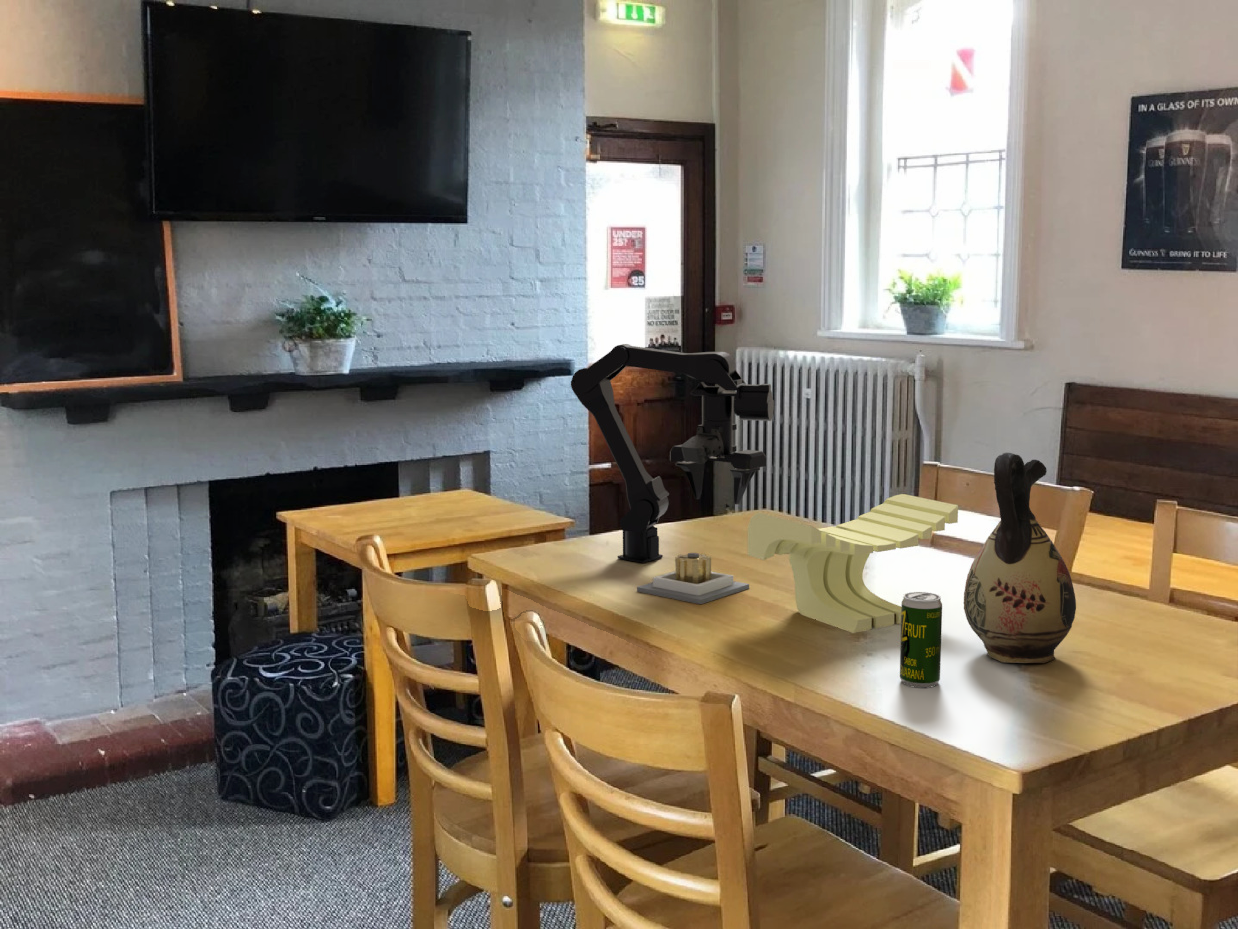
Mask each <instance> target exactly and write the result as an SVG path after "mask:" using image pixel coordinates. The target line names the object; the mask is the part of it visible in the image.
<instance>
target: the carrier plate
mask: <svg viewBox="0 0 1238 929" xmlns="http://www.w3.org/2000/svg"><path fill="white" fill-rule="evenodd" d="M749 589H750V584H749V583H745V582H740V581H734V575H733V574H727V573H722V572H721V573H720V572H715V571H711V580H710V581H707V582H703V583H700V584H693V583H688V582H683V581H677V580H675V571H671V572H668V573H667V572H666V573H665V574H661V575H657V576H654V577H653V578H652V582H649V583H646V584H645V583H644V584H641V585H639V586H636V592H637V593H638V592H639V593H642V594H649V595H653V596H658V597H663V598H668V599H673V600H676V601H682V602H687V603H693V604H697V605H703V604H706V603H709V602H712V601H715V600H719V599H721V598H724V597H728V596H730V595H731V596H732V595H734V594H737V593H740V592H743V591H746V590H749Z"/></svg>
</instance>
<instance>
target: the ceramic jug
mask: <svg viewBox="0 0 1238 929" xmlns="http://www.w3.org/2000/svg"><path fill="white" fill-rule="evenodd" d="M993 467H994V468H993V479H994V480H993V483H994V490H995V496H996V501H997V506H998V509H999V517H1000V520H999V521H998V523H997V525H996V527H994V529H993V530H992V531H991V532H990V535H988V537H987V538H986V540H985V542H984V543H983V545H982V546H981V547H980V549H979V551H978V552H977V553H976V556H975V558H974V560H973V561H972V563H971V565H970V568H969V571H968V573H967V576H966V580H965V586H964V592H963V610H964V614H965V617H966V618H965V619H966V620H967V623H968V624H969V626H970V628H971V629H972V631H973V632H974V633H975V634H976V635H977V637H978V638H979V639H980V640H981V641H982V643H983V646H984V649H985V651H986V652H987V653H986V654H987V655H988V657H990V658H992V659H994V660H996V661H999V662H1001V663H1005V664H1006V663H1009V664H1011V663H1018V664H1045V663H1048V662H1050V661H1053V660H1055V659H1056V657H1055V655H1054V654H1055V650H1056V648H1058V646H1060V644H1061V643H1062V642H1063V641H1064V639H1065V638H1066V637H1067V636H1068V634H1069V632H1070V631H1071V629H1072V626H1073V622H1074V620H1075V617H1076V609H1077V600H1076V593H1075V588H1074V585H1073V581H1072V576H1071V574H1070V571H1069V569H1068V567H1067V564H1066V562H1065V561H1064V559H1063V557H1062V555H1061V553H1060V552H1059V550H1058V549H1057V548H1056V546H1055V544H1054V543H1053V540H1051V538H1050V537H1049V535H1048V534H1047V532H1046V531H1045V530H1044V528H1043V527H1042V526H1041V524H1040V523H1039V522H1038V521H1037V518H1036V515H1035V514H1034V513H1033V512H1032V510H1031V508H1030V502H1031V501H1030V499H1031V490H1032V487H1033V485H1035V484H1036V483H1037V482H1038V481H1039V480H1040V479H1042V478H1043V477H1046V475H1047V466H1046V465H1045V464H1044V463H1043V462H1042V461H1040V460H1038V459H1031V460H1029V461H1027V462H1024V460H1023V458H1022V456H1021V455H1019V454H1015V453H1012V452H1003V453H1002V454H999V455H998V456H997V457H996V458H995V461H994V466H993Z"/></svg>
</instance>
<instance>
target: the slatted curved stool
mask: <svg viewBox="0 0 1238 929" xmlns="http://www.w3.org/2000/svg"><path fill="white" fill-rule="evenodd" d="M958 522H959V505H958V504H955V503H949V502H943V501H939V500H936V499H934V500H933V499H929V498H925V497H921V496H915V495H909V494H904V493H900V494H896V495H893V496H890V497H888V498H886V499H885V500H884V501H883V503H882V504H879V505H876V506H874V507H871V509H870V510H869V511H868V512H866V513H863V514H861V515H859V516H857V518H855V519H853V520H850V521H847V522H844V523H843V522H842V523H839V524H837V525H836V526H828V527H823V528H816V526H813V525H812V524H811V525H810V524H806V523H803V522H799V521H795V520H792V519H788V518H783V517H779V516H776V515H772V514H768V513H765V512H756V513H754V514H753V515H751V517H750V519H749V522H748V526H747V556H749V557H752V558H755V559H759V560H762V561H765V560H768V559H769V558H772V557H774V556H775V555H778V556H783V555H789V556H788V557H789V558H788V559H789V564H790V566H791V570H792V574H793V581H794V595H795V597H794V599H795V604H796V610H797V611H798V613H799V614H800V615H801V616H804V617H806V618H809V619H813V620H815V619H816V621H818V622H821V623H824V624H827V625H829V626H832V627H834V628H837V627H838V629H841V630H843V631H846V632H849V633H852V634H856V633H860V632H865V631H869V630H872V628H873V629H881V628H885V627H890V626H891V627H892V626H894V625H895V624H896V625H901V607H902V605H901V606H900V605H898V604H896V603H893V602H891V601H888V600H886V599H884V598H881V597H880V596H878V595H876V594H875V593H873V592H872V591H871V590H870V589H869V588H868V587H867V586H866V585H865V583H864V579H863V574H864V569H865V566H866V563H867V561H868V558H870V557H869V556H870V555H871V554H873V553H874V552H876V553H881V552H887V551H894V550H896V549H905V548H912V547H918V546H919V539H920V540H928V539H932V533H933V532H941V531H945V530H946V528H945V527H946V524H950V525H951V524H958ZM932 531H933V532H932Z"/></svg>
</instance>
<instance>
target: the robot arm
mask: <svg viewBox="0 0 1238 929" xmlns="http://www.w3.org/2000/svg"><path fill="white" fill-rule="evenodd" d="M626 367H633V368H639V369H647V370H652V371H654V370H655V371H661V372H668V373H675V374H676V373H677V374H682V375H685V376H687V377H690V378H691V379H694V380H697V381H700V382H699V383H698V385H697V386H696V387H695V389H693V390H692V391H691V392H690V395H692V396H701V424H697V428H696V435H694V436H692V437H690V438H689V439H688V440H686V441H685V442H684V443H683V444H678V445H673V446H672V448H671V449H670V451H669V461H670V462H675V466H677V467H679V468H681V469H682V470H683V471H684V472H685V473H684V474H685V475H686V477H687V479H688V482H689V485H690V487H691V490H692V493H693V496H694V499H695V500H700V499H701V495H702V492H703V482H704V474H705V466H706V465H705V463H706V462H707V461H713V462H721V463H728V464H729V463H730V464H731V465H732V467H733V468H732V469H729V470H730V473H731V475H732V477H733V503H734V505H740V504H741V501H742V499H743V497H744V495H745V492H746V490H747V488H748V485H749V484H750V482H751V480H752V479H753V477H754V475H755V473H756V472H757V471H760V470H761V468H763V467H767V457H766V454H765V453H764V452H763V451H762V450H751V449H745V450H740V451H737V447H738V446H737V445H733V431H736V430H737V428H738V427H737V426H738V425H737V423H733V418H734V417H733V416H734V415H733V412H734V414H735V415H736V417H739V419H740V421H760V422H763V421H764V422H765V421H766V422H767V421H768V422H771V421H772V420H773V416H774V411H775V410H774V409H775V407H774V406H775V400H774V399H773V398H774V397H773V392H772V384H771V383H762V384H746V382H745V380H744V379H743V378H742V377H741V375H740V374H739V372H738V371H737V370H736V363H735V360H734V358H733V357H732V356H731V354H729V353H728V352H725V351H705V352H692V353H690V352H689V353H688V352H687V353H686V352H678V351H672V350H671V351H670V350H664V349H658V348H649V347H643V346H636V345H635V346H634V345H631V344H628V343H622V344H618V345H615V346H614V347H613V348H612V349H611V350H610V351H608V352H607V353H606V354H605V355H604V356H602V357H601V358H599V359H598V360H597V361H595V362H593V363H592V364H591V365H590V366H589V367H584V368H579V369H578V370H576V371H575V372H574V374H573V375H572V377H571V381H570V387H571V390H572V392H573V393H574V395H575V396H576V398H577V400H579V402H580V403H581V405H582V406H583V407H584V408H585V409H586V410H588V411H589V413H590V414H592V416H593V418H594V419H595V421H596V424H597V425H598V428H599V429H600V432H601V434H602V436H603V439H604V440H605V442H606V444H607V446H608V449H609V450H610V453H611V454H612V455H611V456H612V457H613V460H614V461H615V464H616V465H617V467H618V469H619V471H620V474H621V476H622V478H623V480H624V482H625V491H626V499H627V501H628V507H629V510H628V511H627V512H626V513H625V514H624V515H623V516H621V518H620V519H619V525H620V528H621V530H622V554H620V555H617V559H619V560H625V561H630V562H635V563H639V564H641V563H642V564H644V563H647V562H651V561H655V560H659V559H662V558H664V556H663V554H660V537H659V535H658V527H655V525H657V524H658V523H659V520H660V517H662V516H663V515H665V513H666V512H667V511H668V508H669V498H668V496H670V493H669V492H668V490H666V488H665V486H664V483H663V480H662V477H661V476H657V477H654V478H653V477H652V476H651V475H650V474H649V473H648V472H647V470H646V468H645V466H644V464H643V462H642V460H641V458H640V456H639V454H638V451H637V449H636V448H635V445H634V443H633V441H632V439H631V437H630V435H629V433H628V431H627V428H626V427H625V424H624V422H623V421H622V418H621V416H620V415H619V412H618V410H617V408H616V405H615V404H616V403H615V395H614V390H613V389H614V388H613V385H612V380H613V379H615V378H616V377H617V376H618V375H619V374H620V373H621V372H622V371H623V370H624V369H625V368H626ZM705 383H706V384H705ZM707 384H709V385H710V386H709V385H707ZM712 385H716V386H712Z"/></svg>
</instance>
